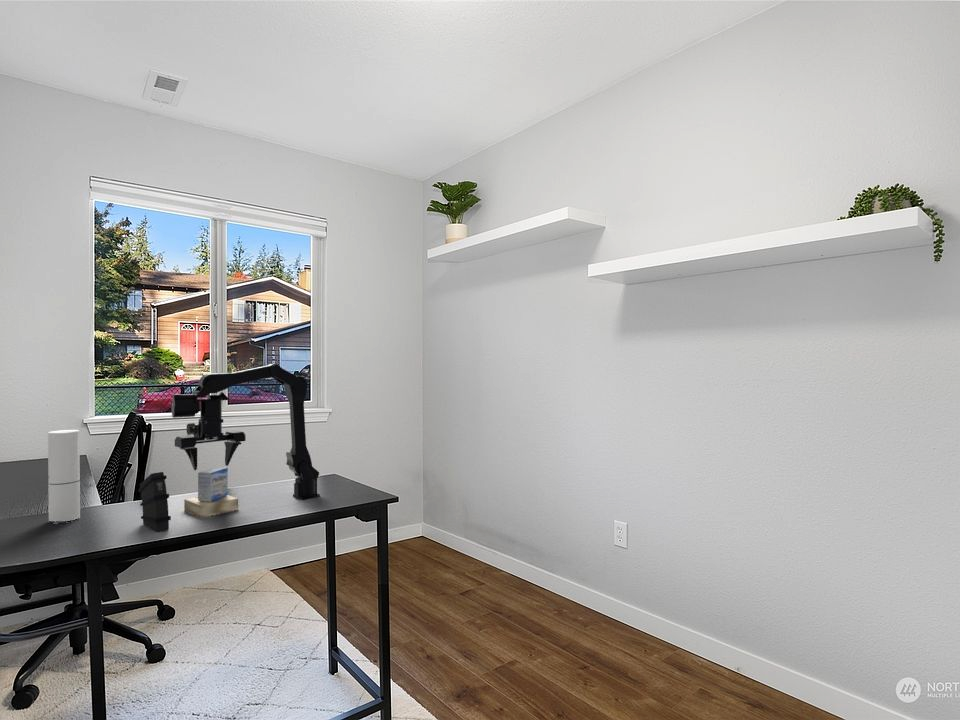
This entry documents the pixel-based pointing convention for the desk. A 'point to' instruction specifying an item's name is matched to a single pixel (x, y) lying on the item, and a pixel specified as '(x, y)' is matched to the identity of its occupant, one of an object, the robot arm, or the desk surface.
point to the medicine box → (212, 484)
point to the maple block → (210, 506)
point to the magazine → (155, 502)
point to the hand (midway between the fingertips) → (211, 467)
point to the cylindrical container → (64, 475)
